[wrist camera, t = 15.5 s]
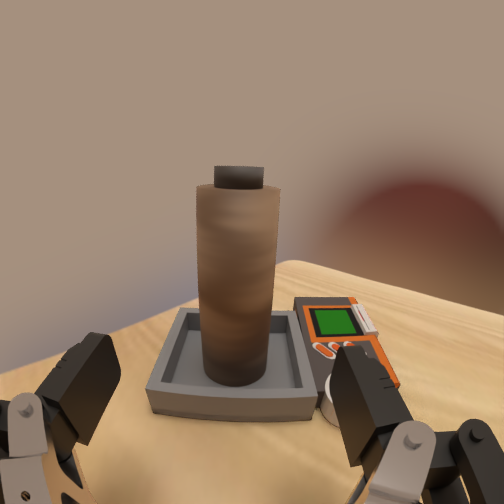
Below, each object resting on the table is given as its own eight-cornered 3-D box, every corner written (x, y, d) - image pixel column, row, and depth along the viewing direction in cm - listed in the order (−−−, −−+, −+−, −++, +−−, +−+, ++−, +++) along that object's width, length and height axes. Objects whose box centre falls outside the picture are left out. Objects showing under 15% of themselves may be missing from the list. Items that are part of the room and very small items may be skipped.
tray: (292, 333, 25) (295, 310, 24) (311, 419, 15) (318, 396, 14) (182, 329, 25) (180, 307, 24) (153, 412, 15) (145, 388, 14)
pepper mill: (265, 347, 22) (277, 167, 17) (267, 387, 17) (286, 169, 13) (207, 344, 22) (204, 165, 17) (199, 384, 17) (188, 166, 13)
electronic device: (319, 417, 13) (294, 292, 27) (310, 440, 14) (291, 316, 28) (417, 402, 13) (357, 292, 27) (400, 427, 14) (351, 315, 28)
